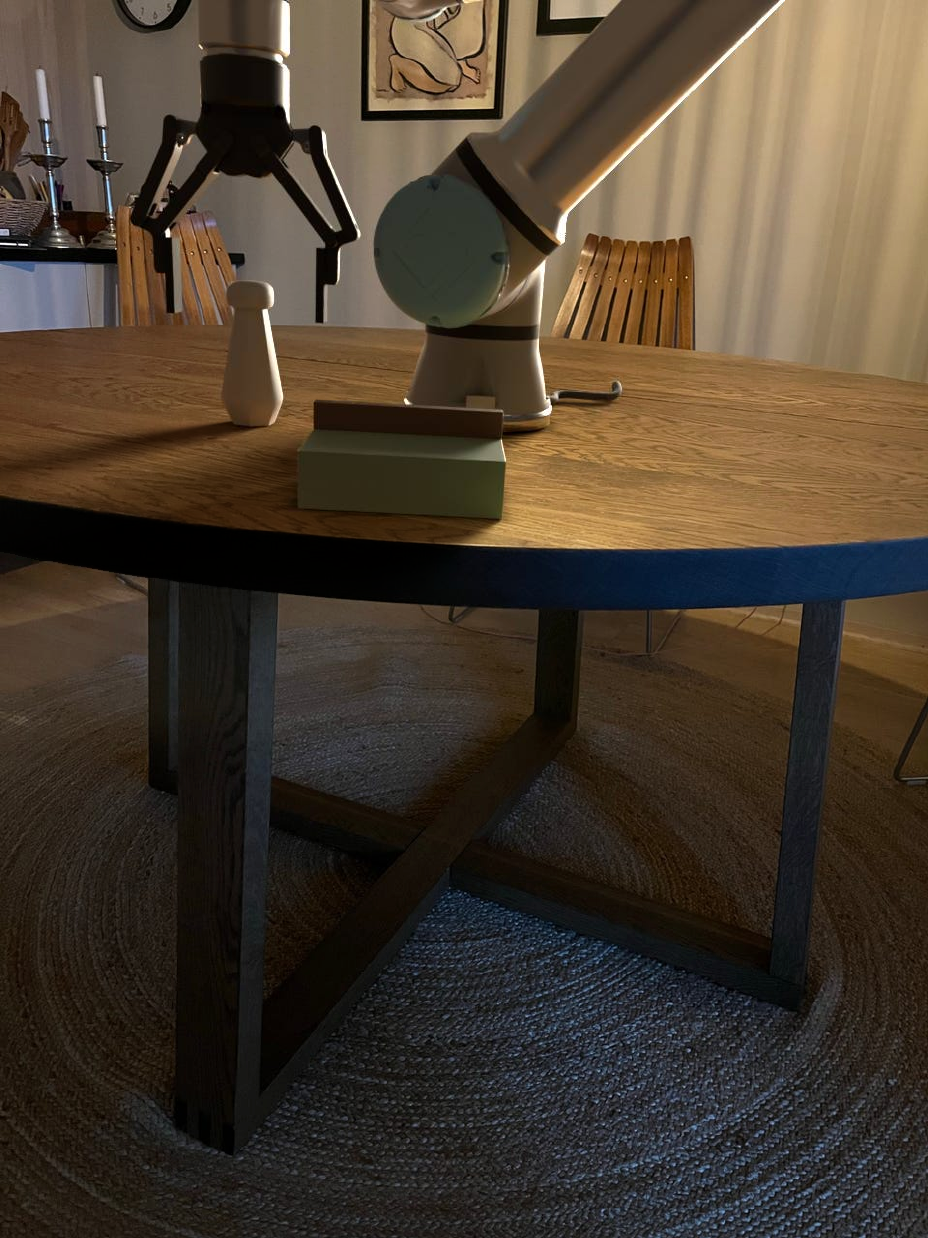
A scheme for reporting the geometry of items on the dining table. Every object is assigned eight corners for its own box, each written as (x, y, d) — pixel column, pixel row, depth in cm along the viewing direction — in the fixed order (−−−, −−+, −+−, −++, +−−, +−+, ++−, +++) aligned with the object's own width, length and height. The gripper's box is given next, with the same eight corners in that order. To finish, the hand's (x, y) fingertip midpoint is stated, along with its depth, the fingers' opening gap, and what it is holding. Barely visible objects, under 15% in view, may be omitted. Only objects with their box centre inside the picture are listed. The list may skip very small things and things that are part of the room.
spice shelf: (315, 478, 76) (315, 399, 74) (497, 487, 77) (502, 409, 75) (297, 508, 68) (297, 420, 66) (502, 519, 68) (508, 432, 66)
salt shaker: (226, 415, 99) (222, 277, 94) (285, 418, 99) (284, 280, 94) (218, 426, 93) (213, 280, 88) (280, 429, 94) (278, 283, 89)
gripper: (393, 75, 89) (384, 322, 97) (111, 54, 88) (125, 305, 96) (387, 62, 82) (379, 329, 90) (81, 39, 81) (99, 310, 89)
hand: (248, 317), depth 93 cm, fingers open, 13 cm apart
